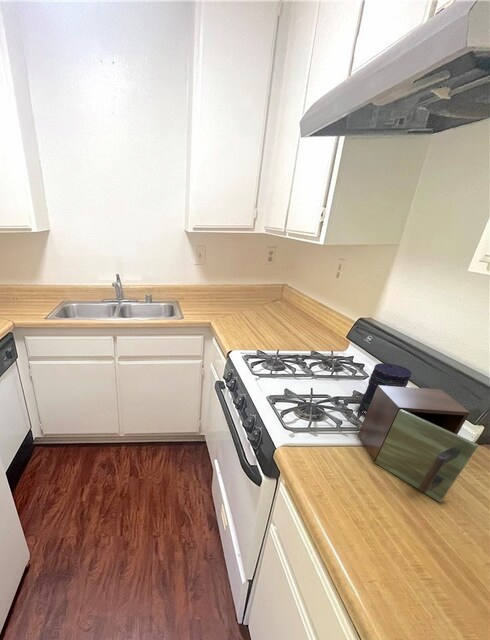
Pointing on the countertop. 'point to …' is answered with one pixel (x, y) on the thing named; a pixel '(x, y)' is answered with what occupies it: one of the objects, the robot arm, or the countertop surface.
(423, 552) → the countertop surface
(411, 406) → the cupboard
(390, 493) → the countertop surface
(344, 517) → the countertop surface
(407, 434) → the door
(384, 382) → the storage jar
